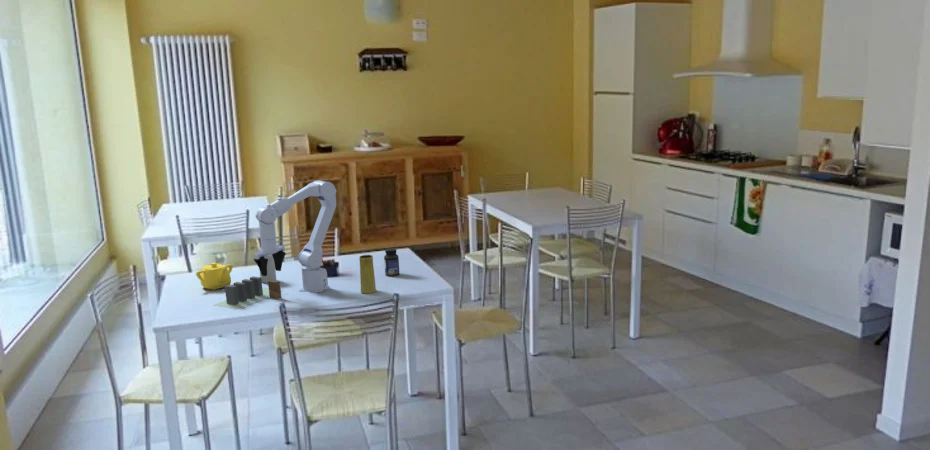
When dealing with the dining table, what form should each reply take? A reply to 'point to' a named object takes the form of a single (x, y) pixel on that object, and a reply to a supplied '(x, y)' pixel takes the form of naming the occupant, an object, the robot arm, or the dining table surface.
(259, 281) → the domino
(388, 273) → the pill bottle
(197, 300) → the dining table surface
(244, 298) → the domino
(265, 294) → the mat
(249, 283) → the domino
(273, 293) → the domino
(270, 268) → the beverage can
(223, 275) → the teapot
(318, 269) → the robot arm
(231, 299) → the domino
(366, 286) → the vase
